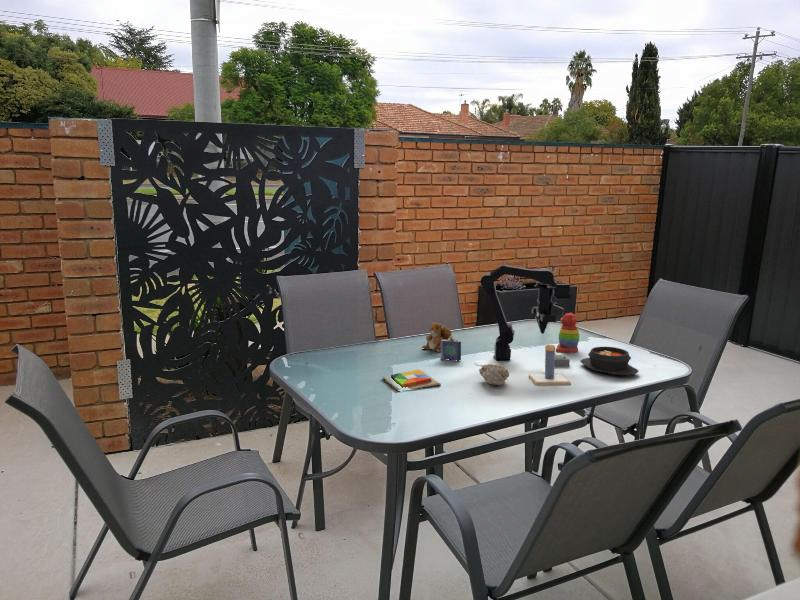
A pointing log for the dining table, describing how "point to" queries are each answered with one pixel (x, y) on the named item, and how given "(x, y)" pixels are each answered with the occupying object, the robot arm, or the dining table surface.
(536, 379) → the sketch pad
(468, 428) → the dining table surface
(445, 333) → the stuffed squirrel
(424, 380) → the wooden puzzle
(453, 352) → the dark blue box
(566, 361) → the gray square hollow block
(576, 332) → the stacking bear
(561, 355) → the button
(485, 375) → the pumice stone
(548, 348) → the toy microphone
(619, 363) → the casserole
